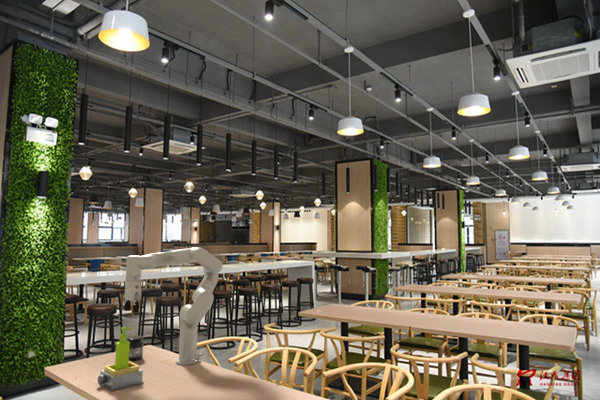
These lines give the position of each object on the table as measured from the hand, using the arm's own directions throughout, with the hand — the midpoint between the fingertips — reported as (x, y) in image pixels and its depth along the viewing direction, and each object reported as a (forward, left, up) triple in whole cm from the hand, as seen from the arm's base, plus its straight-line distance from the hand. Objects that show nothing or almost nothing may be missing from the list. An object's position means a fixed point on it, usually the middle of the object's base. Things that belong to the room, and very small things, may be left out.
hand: (131, 311), depth 218 cm
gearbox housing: (+11, +17, -30) cm, 36 cm away
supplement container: (-11, -19, -30) cm, 38 cm away
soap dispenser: (+11, +17, -24) cm, 32 cm away
